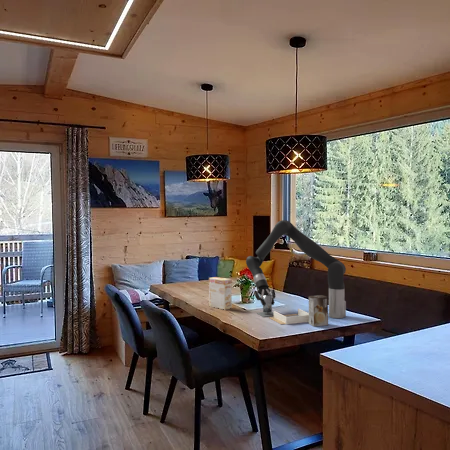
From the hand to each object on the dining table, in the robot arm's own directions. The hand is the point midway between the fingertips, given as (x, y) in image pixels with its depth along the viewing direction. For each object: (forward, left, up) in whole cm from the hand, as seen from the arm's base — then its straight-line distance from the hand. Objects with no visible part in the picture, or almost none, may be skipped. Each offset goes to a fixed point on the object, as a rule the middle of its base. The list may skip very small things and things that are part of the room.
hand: (268, 304), depth 266 cm
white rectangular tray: (-9, +14, -7) cm, 18 cm away
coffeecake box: (+21, -31, -7) cm, 38 cm away
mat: (0, -2, -7) cm, 7 cm away
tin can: (0, -2, -5) cm, 5 cm away
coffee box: (-17, +29, -7) cm, 35 cm away
